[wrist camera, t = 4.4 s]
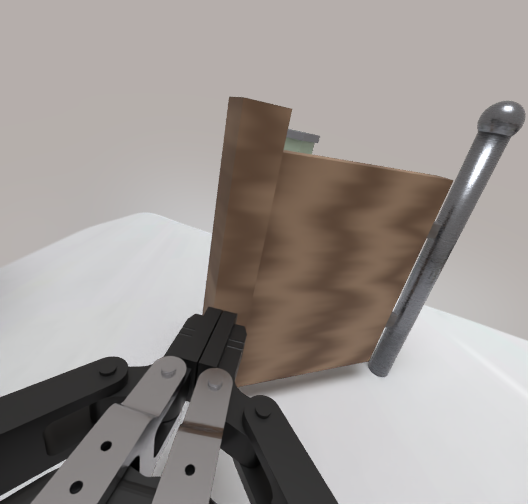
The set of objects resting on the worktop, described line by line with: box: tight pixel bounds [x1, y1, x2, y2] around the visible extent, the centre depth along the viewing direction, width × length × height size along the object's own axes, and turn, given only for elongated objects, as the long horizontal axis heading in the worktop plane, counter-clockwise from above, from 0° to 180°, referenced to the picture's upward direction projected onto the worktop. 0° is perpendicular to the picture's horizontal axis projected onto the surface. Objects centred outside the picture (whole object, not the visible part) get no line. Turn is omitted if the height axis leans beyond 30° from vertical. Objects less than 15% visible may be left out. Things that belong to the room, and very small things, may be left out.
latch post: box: [284, 129, 320, 155], centre depth 37 cm, size 4×4×21 cm
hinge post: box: [369, 101, 525, 377], centre depth 25 cm, size 3×3×26 cm
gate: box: [202, 97, 453, 387], centre depth 21 cm, size 18×3×22 cm, turn 111°
